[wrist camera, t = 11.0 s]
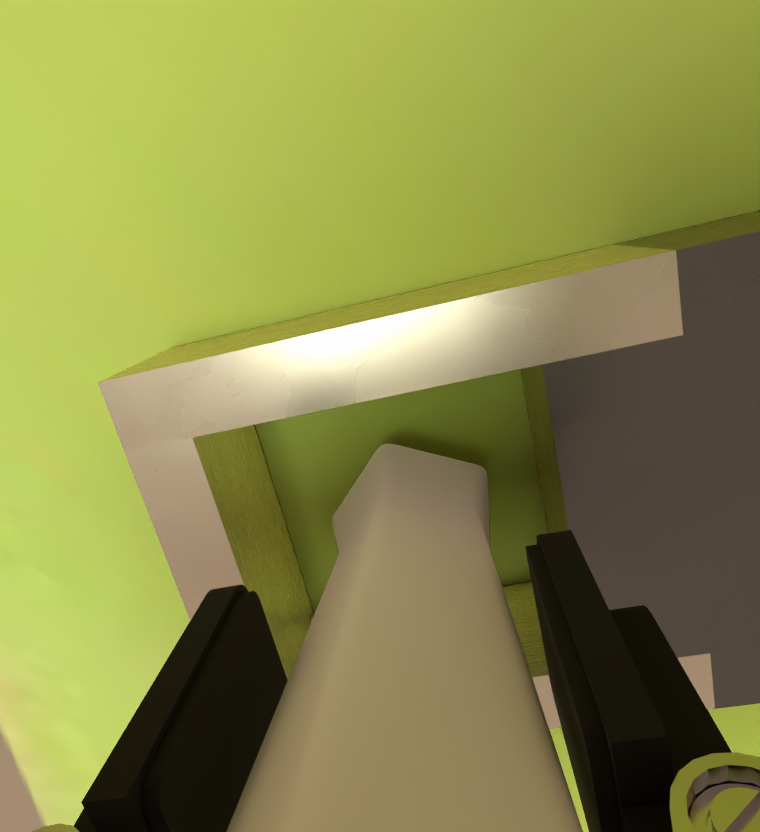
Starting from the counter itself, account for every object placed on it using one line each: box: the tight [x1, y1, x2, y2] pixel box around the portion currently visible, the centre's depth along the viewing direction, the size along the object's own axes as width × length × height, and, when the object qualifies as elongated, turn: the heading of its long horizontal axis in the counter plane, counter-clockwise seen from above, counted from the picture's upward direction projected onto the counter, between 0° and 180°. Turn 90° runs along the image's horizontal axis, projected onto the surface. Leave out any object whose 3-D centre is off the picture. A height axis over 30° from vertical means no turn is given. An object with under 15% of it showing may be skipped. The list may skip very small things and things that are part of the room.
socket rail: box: [98, 211, 760, 729], centre depth 13 cm, size 22×10×4 cm, turn 103°
